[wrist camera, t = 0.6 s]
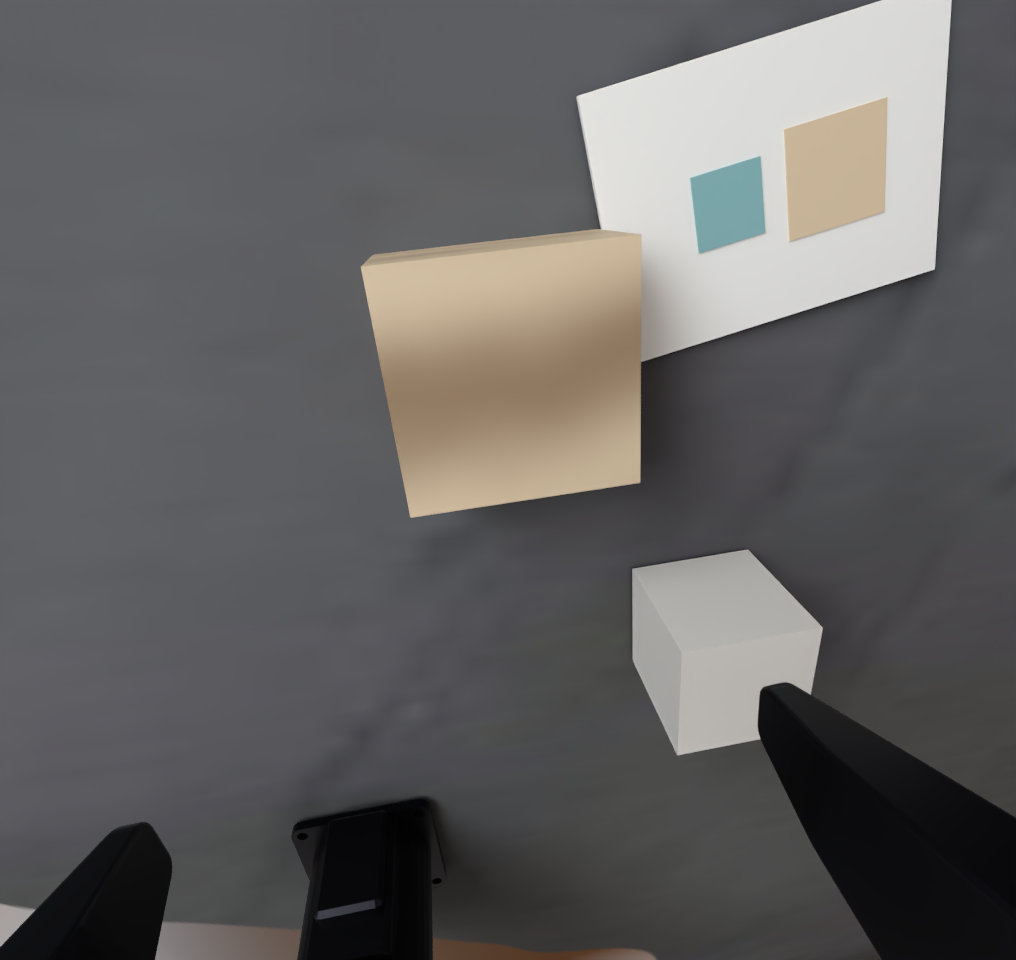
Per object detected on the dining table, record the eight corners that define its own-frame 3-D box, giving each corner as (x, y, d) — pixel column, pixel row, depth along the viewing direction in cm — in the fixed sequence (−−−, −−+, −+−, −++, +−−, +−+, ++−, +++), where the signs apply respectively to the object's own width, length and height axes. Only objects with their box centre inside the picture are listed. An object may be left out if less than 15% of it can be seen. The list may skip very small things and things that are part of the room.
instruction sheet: (931, 269, 20) (936, 269, 20) (626, 364, 20) (628, 366, 20) (948, -20, 16) (955, -24, 16) (576, 97, 16) (578, 95, 16)
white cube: (738, 641, 26) (804, 730, 22) (632, 660, 26) (677, 755, 21) (748, 549, 24) (823, 627, 20) (632, 568, 24) (681, 653, 19)
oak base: (602, 436, 21) (640, 482, 17) (412, 463, 20) (410, 517, 17) (597, 229, 18) (641, 234, 14) (373, 254, 17) (360, 266, 14)
